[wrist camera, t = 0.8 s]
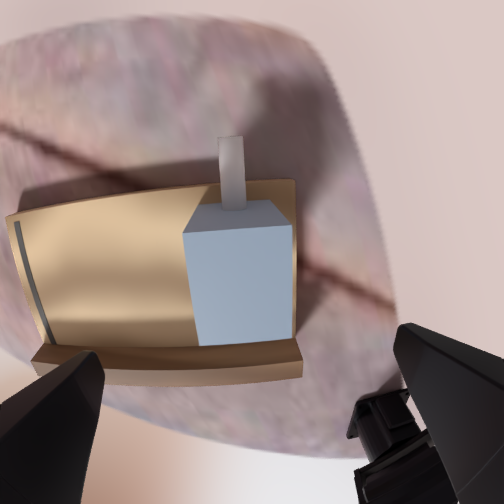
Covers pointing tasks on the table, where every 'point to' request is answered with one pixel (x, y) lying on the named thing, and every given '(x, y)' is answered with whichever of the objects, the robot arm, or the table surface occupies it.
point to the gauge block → (239, 261)
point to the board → (137, 288)
